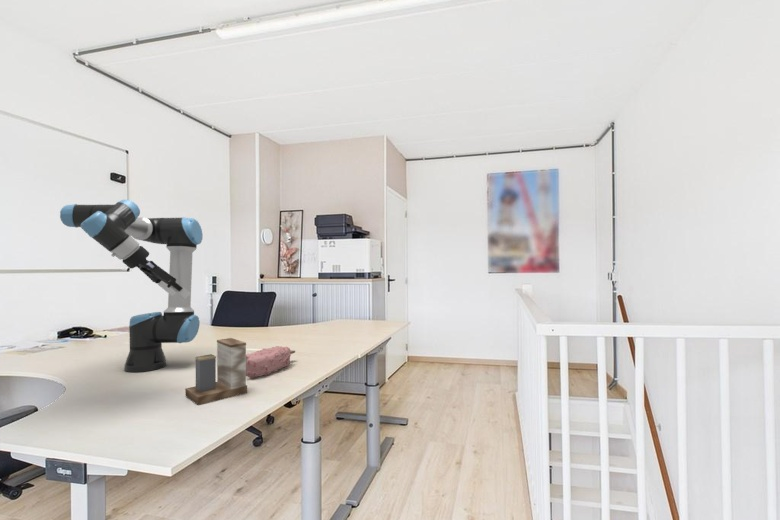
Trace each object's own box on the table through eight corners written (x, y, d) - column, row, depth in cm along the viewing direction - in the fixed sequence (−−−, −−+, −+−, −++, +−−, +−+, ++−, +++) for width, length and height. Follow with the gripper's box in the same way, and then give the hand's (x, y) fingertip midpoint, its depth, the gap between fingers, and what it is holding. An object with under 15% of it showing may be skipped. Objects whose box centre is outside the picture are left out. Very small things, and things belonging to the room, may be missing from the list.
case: (199, 392, 125) (199, 358, 126) (195, 389, 128) (195, 356, 128) (215, 389, 129) (215, 356, 129) (211, 386, 132) (211, 354, 132)
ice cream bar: (304, 343, 173) (256, 359, 145) (304, 362, 172) (256, 382, 145) (282, 341, 178) (231, 355, 150) (282, 359, 178) (231, 377, 150)
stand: (198, 405, 121) (198, 350, 121) (185, 395, 130) (185, 344, 130) (247, 392, 133) (247, 342, 133) (232, 384, 141) (232, 337, 141)
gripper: (113, 260, 134) (162, 299, 145) (130, 261, 116) (184, 306, 127) (131, 245, 138) (177, 284, 148) (150, 244, 120) (201, 288, 131)
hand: (181, 294), depth 138 cm, fingers open, 13 cm apart
